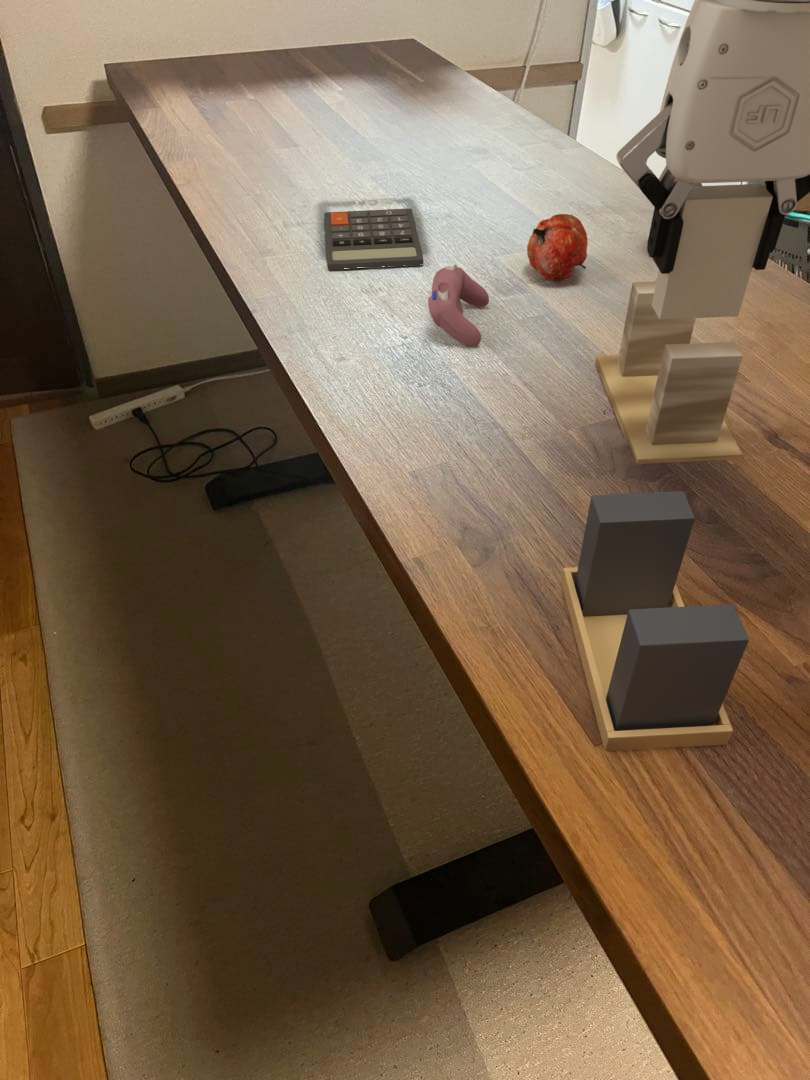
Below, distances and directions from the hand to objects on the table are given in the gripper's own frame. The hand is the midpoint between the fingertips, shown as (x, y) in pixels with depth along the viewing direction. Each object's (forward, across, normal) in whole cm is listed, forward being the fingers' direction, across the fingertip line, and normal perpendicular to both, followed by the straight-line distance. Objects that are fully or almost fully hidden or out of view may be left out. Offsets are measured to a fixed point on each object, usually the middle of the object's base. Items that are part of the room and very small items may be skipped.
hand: (707, 260), depth 62 cm
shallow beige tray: (+20, -7, -20) cm, 29 cm away
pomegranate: (+20, -1, +38) cm, 43 cm away
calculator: (+20, -23, +48) cm, 57 cm away
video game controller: (+20, -14, +27) cm, 37 cm away
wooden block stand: (+20, +4, +9) cm, 22 cm away
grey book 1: (+19, -7, -15) cm, 25 cm away
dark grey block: (+19, -7, -25) cm, 33 cm away
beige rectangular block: (+4, 0, 0) cm, 4 cm away
